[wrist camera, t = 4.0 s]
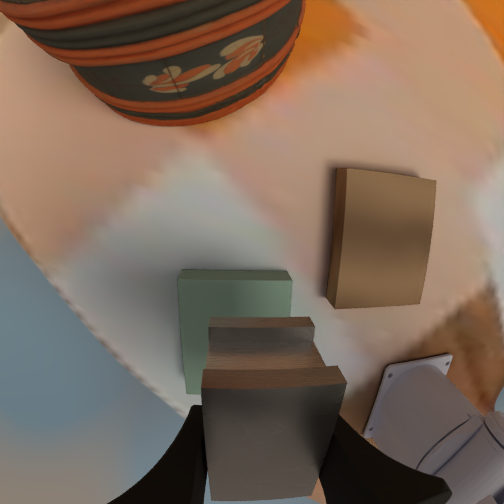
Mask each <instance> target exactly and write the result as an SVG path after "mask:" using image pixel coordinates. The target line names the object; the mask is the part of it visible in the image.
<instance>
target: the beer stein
mask: <svg viewBox="0 0 504 504" xmlns="http://www.w3.org/2000/svg"><path fill="white" fill-rule="evenodd" d="M0 12H2V13H3V14H4V15H5V16H6V17H7V18H8V19H10V20H11V21H13V22H14V23H15V24H16V25H17V26H18V27H20V28H21V29H22V30H23V31H24V32H25V33H26V35H27V36H28V37H29V38H30V39H31V40H32V41H33V42H34V43H35V44H36V45H38V46H39V47H40V48H42V49H43V50H44V51H45V52H47V53H48V54H49V55H51V56H52V57H54V58H56V59H58V60H60V61H62V62H65V63H68V64H69V65H70V67H71V69H72V70H73V72H74V73H75V75H76V76H77V77H78V79H79V80H80V81H81V82H82V83H83V84H84V85H85V86H86V87H87V88H88V89H89V90H90V91H91V92H92V93H94V94H95V96H96V97H98V98H99V99H100V100H101V101H103V102H104V103H106V104H107V105H108V106H109V107H110V108H111V109H112V110H114V111H115V112H117V113H118V114H120V115H122V116H123V117H125V118H128V119H130V120H132V121H136V122H140V123H144V124H150V125H157V126H186V125H193V124H198V123H204V122H208V121H212V120H215V119H219V118H221V117H223V116H226V115H228V114H230V113H232V112H234V111H236V110H238V109H240V108H242V107H243V106H245V105H246V104H248V103H250V102H251V101H253V100H255V99H256V98H258V97H259V96H260V95H262V94H263V93H265V92H266V90H267V89H268V88H269V87H270V86H271V85H272V84H273V83H274V81H275V80H276V79H277V78H278V76H279V75H280V73H281V72H282V70H283V69H284V67H285V65H286V63H287V60H288V58H289V56H290V53H291V52H292V50H293V48H294V45H295V43H294V42H295V40H296V38H297V37H298V35H299V32H300V27H301V24H302V21H303V17H304V13H305V0H0Z"/></svg>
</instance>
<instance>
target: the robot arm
mask: <svg viewBox="0 0 504 504" xmlns="http://www.w3.org/2000/svg"><path fill="white" fill-rule="evenodd" d="M451 361H452V355H451V354H445V355H440V356H435V357H430V358H425V359H420V360H415V361H409V362H403V363H397V364H391V365H389V366H387V368H386V369H385V372H384V376H383V379H382V382H381V385H380V388H379V392H378V395H377V398H376V401H375V404H374V406H373V409H372V412H371V415H370V418H369V420H368V423H367V426H366V428H365V431H364V433H363V436H364V438H371V437H373V439H374V441H375V443H376V445H377V447H378V449H379V450H378V449H377V448H375V447H374V446H373V445H371V444H370V443H369V442H368V441H366V440H365V439H364V438H363V437H362V436H360V435H359V434H358V433H357V432H356V431H355V430H354V429H353V428H352V427H351V426H350V425H349V424H348V423H347V422H346V421H345V420H344V419H343V418H342V417H341V416H340V415H338V418H337V422H336V425H335V428H334V431H333V435H332V438H331V441H330V444H329V447H328V450H327V453H326V456H325V459H324V462H323V465H322V468H321V471H320V473H319V479H320V482H321V485H322V488H323V491H324V494H325V498H326V503H327V504H504V413H502V412H500V411H497V412H489V413H488V415H487V416H486V417H484V416H483V415H482V414H481V413H480V412H479V411H478V410H477V408H476V407H475V406H474V405H473V404H472V403H471V402H470V401H469V400H468V399H467V398H466V397H465V396H464V394H463V393H462V392H461V391H460V390H459V389H458V388H457V387H456V386H455V385H454V384H453V383H452V382H451V381H450V380H449V379H448V378H447V377H446V374H447V371H448V369H449V366H450V363H451ZM390 373H391V374H390ZM389 374H390V375H389ZM207 471H208V467H207V458H206V447H205V436H204V425H203V412H202V405H193V406H191V409H190V411H189V414H188V416H187V418H186V420H185V422H184V424H183V426H182V428H181V430H180V431H179V433H178V435H177V436H176V438H175V440H174V441H173V443H172V444H171V445H170V447H169V448H168V450H167V451H166V453H165V454H164V455H163V456H162V458H161V459H160V460H159V461H158V463H157V464H156V465H155V466H154V467H153V468H152V469H151V470H150V471H149V472H148V473H147V474H146V475H145V476H144V477H143V478H142V479H141V480H140V481H138V482H137V483H136V484H135V485H134V486H132V487H131V488H130V489H129V490H127V491H126V492H125V493H123V494H122V495H120V496H119V497H117V498H116V499H114V500H112V501H111V502H109V503H108V504H204V493H205V485H206V478H207Z"/></svg>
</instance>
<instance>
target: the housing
mask: <svg viewBox="0 0 504 504" xmlns="http://www.w3.org/2000/svg"><path fill="white" fill-rule="evenodd" d="M314 331H315V326H314V324H313V322H312V320H311V319H310V317H210V318H209V326H208V335H209V343H208V352H207V361H206V369H203V374H202V382H201V398H202V412H203V425H204V436H205V447H206V458H207V467H208V476H209V485H210V493H211V500H212V501H213V500H214V501H253V500H271V499H284V498H293V497H301V496H310V495H311V494H312V492H313V489H314V487H315V484H316V481H317V479H318V476H319V473H320V471H321V468H322V465H323V462H324V459H325V456H326V453H327V450H328V447H329V444H330V441H331V438H332V435H333V431H334V428H335V425H336V422H337V418H338V415H339V411H340V408H341V404H342V400H343V397H344V393H345V389H346V385H347V382H346V380H345V378H344V376H343V375H342V373H341V371H340V369H339V368H338V366H328V367H326V365H325V363H324V361H323V359H322V357H321V355H320V354H319V352H318V350H317V348H316V346H315V344H314V342H313V339H314Z"/></svg>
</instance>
